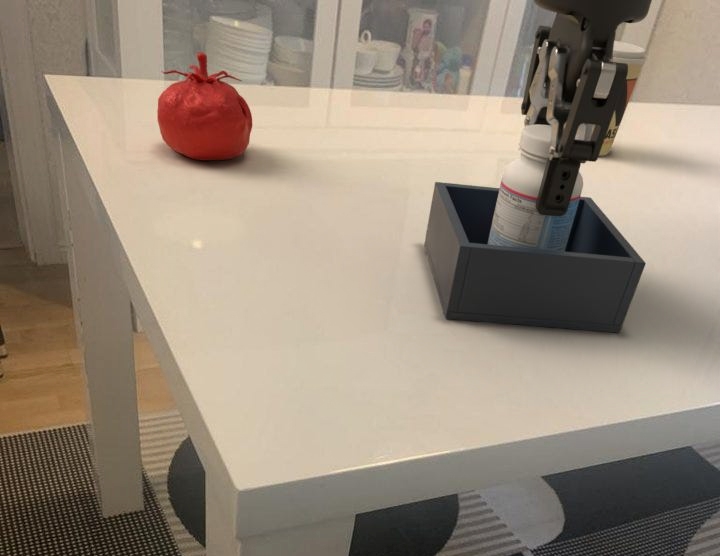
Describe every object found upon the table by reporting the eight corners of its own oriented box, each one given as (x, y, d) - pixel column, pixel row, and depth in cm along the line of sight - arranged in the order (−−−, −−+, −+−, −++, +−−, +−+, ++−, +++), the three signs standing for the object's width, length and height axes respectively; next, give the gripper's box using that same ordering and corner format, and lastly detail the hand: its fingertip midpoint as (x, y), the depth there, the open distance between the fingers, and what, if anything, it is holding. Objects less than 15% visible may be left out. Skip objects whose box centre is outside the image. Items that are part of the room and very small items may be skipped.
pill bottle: (536, 264, 63) (575, 123, 56) (566, 296, 59) (612, 148, 52) (470, 263, 62) (501, 118, 55) (495, 296, 57) (532, 143, 50)
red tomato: (179, 171, 73) (174, 66, 67) (143, 141, 79) (136, 42, 73) (269, 165, 77) (272, 66, 72) (228, 136, 84) (228, 43, 78)
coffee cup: (603, 163, 93) (636, 55, 85) (534, 144, 96) (561, 39, 89) (623, 149, 100) (656, 48, 92) (558, 132, 103) (585, 33, 95)
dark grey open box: (571, 259, 67) (590, 197, 63) (620, 333, 56) (646, 263, 53) (423, 246, 65) (435, 181, 61) (445, 318, 55) (460, 245, 51)
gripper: (716, -59, 40) (615, 239, 51) (630, -75, 51) (561, 172, 62) (585, -78, 40) (510, 229, 50) (525, -90, 51) (474, 163, 61)
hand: (538, 197), depth 56 cm, fingers closed on pill bottle, 6 cm apart
